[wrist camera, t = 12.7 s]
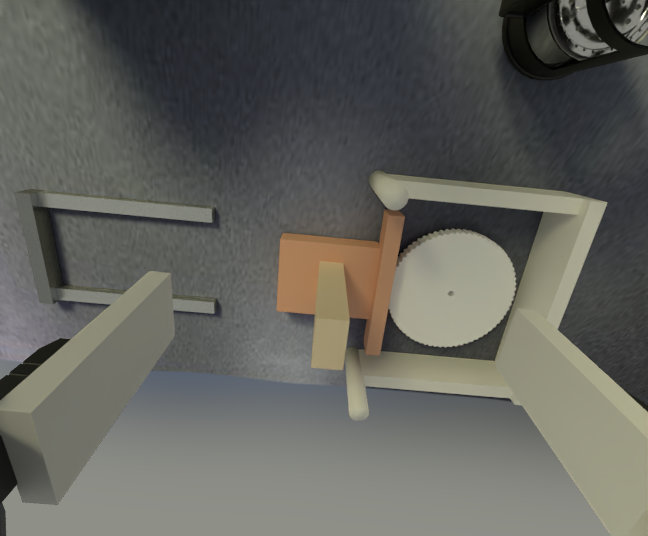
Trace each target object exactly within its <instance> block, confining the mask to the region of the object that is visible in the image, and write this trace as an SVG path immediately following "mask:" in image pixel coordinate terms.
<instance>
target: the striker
mask: <svg viewBox="0 0 648 536" xmlns="http://www.w3.org/2000/svg"><path fill="white" fill-rule="evenodd" d="M404 220H405V216H404V215H403V214H402V213H401V212H400V211H396V210H385V209H384V215H383V221H382V228H381V234H380V240H379V244H378V242H376V241H365V240H355V239H344V238H334V237H323V236H312V235H302V234H291V233H283V234H282V236H281V239H280V254H279V274H278V294H277V311H281V312H293V313H304V314H315V320H314V333H313V347H312V360H311V368H322V369H333V370H343V366H344V359H345V352H346V345H347V337H348V330H349V323H350V319H349V318H360V319H367V322H366V328H365V334H364V340H363V342H364V348H365V354H366V355H377V356H380V351H381V346H382V340H383V335H384V329H385V324H386V318H387V313H388V308H389V302H390V297H391V291H392V286H393V280H394V275H395V269H396V264H397V258H398V253H399V247H400V242H401V237H402V231H403V226H404Z"/></svg>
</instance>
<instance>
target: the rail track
mask: <svg viewBox="0 0 648 536" xmlns="http://www.w3.org/2000/svg"><path fill="white" fill-rule="evenodd" d="M15 197H16V201H17V205H18V210H19V214H20V219H21V223H22V227H23V232H24V236H25V240H26V245H27V249H28V253H29V258H30V262H31V267H32V271H33V275H34V280H35V284H36V288H37V293H38V297H39V301H40V303H48V304H54V303H56V302H57V301H59V300H65V301H76V302H87V303H99V304H110V305H111V304H112V303H113V302H115V301H116V300H117V299H118V298H119V297H120V296H121V295H123V294H124V293H125V292H126V291H127V290H115V289H104V288H93V287H82V286H71V285H63V281H62V276H61V271H60V266H59V261H58V256H57V251H56V246H55V241H54V235H53V230H52V225H51V220H50V215H49V210H48V207H50V208H61V209H71V210H82V211H92V212H103V213H113V214H124V215H134V216H145V217H156V218H166V219H177V220H187V221H198V222H208V223H213V222H214V221H215V207H210V206H199V205H189V204H179V203H168V202H158V201H147V200H137V199H126V198H116V197H106V196H95V195H85V194H74V193H64V192H53V191H43V190H33V189H29V190H24V191H19V192H15ZM172 300H173V310H177V311H189V312H200V313H211V314H215V312H216V310H217V299H216V298H204V297H193V296H182V295H172Z"/></svg>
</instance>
